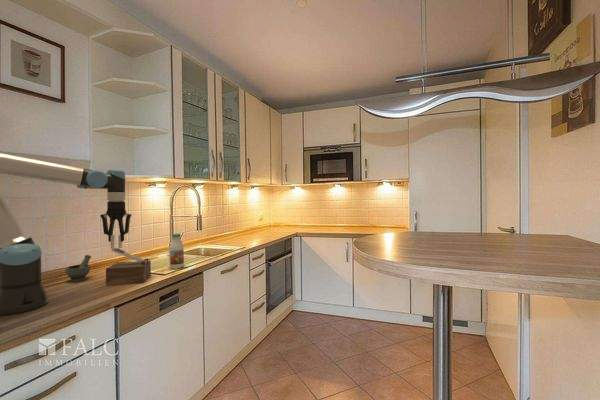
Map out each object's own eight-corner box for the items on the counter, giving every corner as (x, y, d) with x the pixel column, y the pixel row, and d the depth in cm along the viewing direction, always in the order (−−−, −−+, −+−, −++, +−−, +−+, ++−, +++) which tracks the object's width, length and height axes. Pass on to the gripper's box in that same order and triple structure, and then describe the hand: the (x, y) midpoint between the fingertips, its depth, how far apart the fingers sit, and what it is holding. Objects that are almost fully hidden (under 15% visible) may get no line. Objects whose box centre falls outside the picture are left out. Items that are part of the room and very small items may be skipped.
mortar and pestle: (74, 283, 138) (73, 259, 138) (61, 282, 141) (60, 257, 141) (97, 277, 149) (97, 254, 148) (84, 275, 152) (84, 253, 151)
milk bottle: (166, 268, 166) (166, 234, 165) (176, 265, 173) (176, 232, 172) (176, 270, 163) (176, 235, 162) (186, 266, 170) (186, 233, 170)
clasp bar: (144, 264, 144) (146, 261, 144) (110, 251, 140) (112, 248, 140) (146, 262, 147) (147, 260, 147) (113, 249, 143) (114, 247, 143)
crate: (143, 282, 139) (143, 262, 139) (103, 285, 134) (102, 265, 134) (150, 275, 152) (150, 256, 152) (114, 277, 148) (114, 258, 148)
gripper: (136, 200, 147) (136, 246, 148) (101, 200, 143) (101, 247, 143) (131, 201, 140) (131, 248, 140) (94, 201, 136) (94, 250, 136)
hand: (116, 248), depth 142 cm, fingers open, 3 cm apart
